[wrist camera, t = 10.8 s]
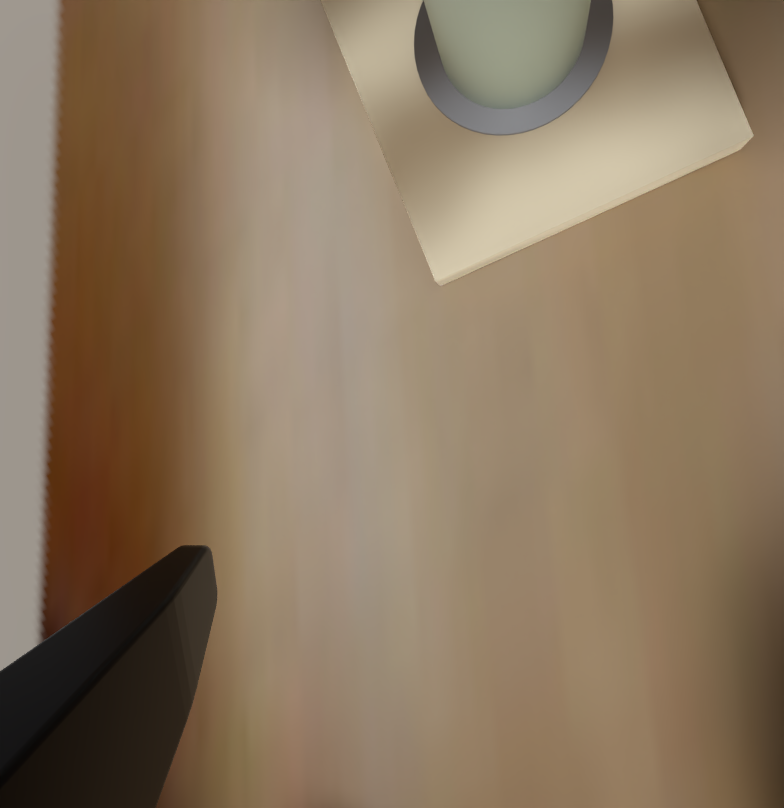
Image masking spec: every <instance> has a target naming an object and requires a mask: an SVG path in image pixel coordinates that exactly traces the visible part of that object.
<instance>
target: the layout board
mask: <svg viewBox="0 0 784 808" xmlns="http://www.w3.org/2000/svg"><path fill="white" fill-rule="evenodd" d="M320 1H321V3H322V6H323V8H324V10H325V13H326V15H327V18H328V20H329V23H330V25H331V28H332V30H333V32H334V35H335V37H336V40H337V42H338V45H339V47H340V50H341V52H342V54H343V57H344V59H345V62H346V64H347V67H348V69H349V72H350V74H351V76H352V79H353V81H354V84H355V86H356V89H357V91H358V94H359V96H360V98H361V101H362V103H363V106H364V108H365V111H366V113H367V116H368V118H369V120H370V123H371V125H372V128H373V130H374V133H375V135H376V138H377V140H378V142H379V145H380V147H381V150H382V152H383V155H384V157H385V160H386V162H387V164H388V167H389V169H390V172H391V174H392V177H393V179H394V181H395V184H396V186H397V189H398V191H399V194H400V196H401V199H402V201H403V203H404V206H405V208H406V211H407V213H408V216H409V218H410V221H411V223H412V225H413V228H414V230H415V233H416V235H417V238H418V240H419V243H420V245H421V247H422V250H423V252H424V255H425V257H426V260H427V262H428V265H429V267H430V269H431V272H432V274H433V277H434V279H435V282H437V283H438V284H439V285H440V286H442V285H444V284H447V283H449V282H451V281H453V280H455V279H458V278H460V277H462V276H464V275H466V274H469V273H471V272H473V271H475V270H477V269H480V268H482V267H484V266H486V265H488V264H491V263H493V262H495V261H497V260H499V259H501V258H504V257H506V256H508V255H510V254H512V253H515V252H517V251H519V250H521V249H523V248H526V247H528V246H530V245H532V244H534V243H537V242H539V241H541V240H543V239H545V238H548V237H550V236H552V235H554V234H556V233H559V232H561V231H563V230H565V229H567V228H570V227H572V226H574V225H576V224H578V223H581V222H583V221H585V220H587V219H589V218H592V217H594V216H596V215H598V214H600V213H603V212H605V211H607V210H609V209H611V208H614V207H616V206H618V205H620V204H622V203H625V202H627V201H629V200H631V199H633V198H636V197H638V196H640V195H642V194H644V193H647V192H649V191H651V190H653V189H655V188H658V187H660V186H662V185H664V184H666V183H669V182H671V181H673V180H675V179H677V178H680V177H682V176H684V175H686V174H688V173H691V172H693V171H695V170H697V169H699V168H702V167H704V166H706V165H708V164H710V163H713V162H715V161H717V160H719V159H721V158H723V157H726V156H728V155H730V154H732V153H734V152H737V151H739V150H740V149H741V148H742V147H743V146H744V145H745V144H746V143H747V142H748V141H749V140H750V139H751V138H752V137H753V136H754V135H753V133H752V131H751V128H750V126H749V123H748V121H747V119H746V116H745V114H744V112H743V109H742V107H741V105H740V102H739V100H738V97H737V95H736V93H735V90H734V88H733V86H732V83H731V81H730V79H729V76H728V74H727V71H726V69H725V67H724V64H723V62H722V60H721V57H720V55H719V53H718V50H717V48H716V45H715V43H714V41H713V38H712V36H711V34H710V31H709V29H708V26H707V24H706V22H705V19H704V17H703V15H702V12H701V10H700V8H699V5H698V3H697V0H591V3H590V9H589V15H588V21H587V27H586V33H585V38H584V43H583V47H582V49H581V52H580V55H579V57H578V59H577V61H576V63H575V65H574V67H573V68H572V70H571V71H570V73H569V74H568V76H567V77H566V78H565V79H564V80H563V82H562V83H561V84H560V85H559V86H558V87H556V88H555V89H554V90H553V91H552V92H550V93H549V94H548V95H546V96H545V97H543V98H541V99H540V100H538V101H536V102H533V103H531V104H529V105H525V106H522V107H518V108H512V109H494V108H488V107H484V106H481V105H479V104H476V103H474V102H472V101H470V100H469V99H467V98H466V97H464V96H463V95H462V94H461V93H459V92H458V90H457V89H456V88H455V87H454V86H453V85H452V83H451V82H450V80H449V79H448V77H447V75H446V73H445V70H444V67H443V64H442V61H441V58H440V54H439V51H438V48H437V44H436V41H435V37H434V34H433V31H432V27H431V24H430V20H429V17H428V14H427V10H426V7H425V3H424V0H320Z"/></svg>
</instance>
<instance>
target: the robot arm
mask: <svg viewBox="0 0 784 808" xmlns="http://www.w3.org/2000/svg"><path fill="white" fill-rule="evenodd" d="M216 604H217V585H216V578H215V571H214V564H213V557H212V552H211V550H210V548H209V547H208V546H205V545H184V546H180V547H178V548H177V549H175V550H174V551H172V552H171V553H170V554H168V555H167V556H165V557H164V558H162V559H161V560H159V561H158V562H157V563H155V564H154V565H152V566H151V567H149V568H148V569H147V570H145V571H144V572H142V573H141V574H139V575H138V576H136V577H135V578H134V579H132V580H131V581H129V582H128V583H126V584H125V585H124V586H122V587H121V588H119V589H118V590H116V591H115V592H113V593H112V594H111V595H109V596H108V597H106V598H105V599H103V600H102V601H101V602H99V603H98V604H96V605H95V606H93V607H92V608H90V609H89V610H88V611H86V612H85V613H83V614H82V615H80V616H79V617H78V618H76V619H75V620H73V621H72V622H70V623H69V624H67V625H66V626H65V627H63V628H62V629H60V630H59V631H57V632H56V633H55V634H53V635H52V636H50V637H49V638H47V639H46V640H44V641H43V642H42V643H40V644H39V645H37V646H36V647H34V648H33V649H32V650H30V651H29V652H27V653H26V654H24V655H23V656H22V657H20V658H19V659H17V660H16V661H14V662H13V663H11V664H10V665H9V666H7V667H6V668H4V669H3V670H1V671H0V808H156V806H157V803H158V800H159V797H160V794H161V792H162V789H163V786H164V783H165V780H166V778H167V775H168V772H169V769H170V767H171V764H172V761H173V758H174V755H175V753H176V750H177V747H178V744H179V742H180V739H181V736H182V733H183V730H184V728H185V725H186V722H187V719H188V716H189V713H190V710H191V707H192V704H193V700H194V696H195V692H196V689H197V684H198V680H199V676H200V672H201V668H202V664H203V659H204V655H205V651H206V647H207V643H208V638H209V634H210V630H211V626H212V622H213V617H214V613H215V609H216Z"/></svg>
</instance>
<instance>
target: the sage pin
mask: <svg viewBox="0 0 784 808" xmlns="http://www.w3.org/2000/svg"><path fill="white" fill-rule="evenodd" d="M424 3H425V7H426V10H427V14H428V17H429V20H430V24H431V27H432V31H433V34H434V37H435V41H436V44H437V48H438V51H439V54H440V58H441V61H442V64H443V67H444V70H445V73H446V75H447V77H448V79H449V80H450V82H451V83H452V85H453V86H454V87H455V88H456V89H457V90H458V92H459V93H461V94H462V95H463V96H464V97H466V98H467V99H469V100H470V101H472V102H474V103H476V104H479V105H481V106H484V107H488V108H494V109H512V108H518V107H522V106H525V105H529V104H531V103H533V102H536V101H538V100H540V99H541V98H543V97H545V96H546V95H548V94H549V93H550V92H552V91H553V90H554V89H555V88H556V87H558V86H559V85H560V84H561V83H562V82H563V80H564V79H565V78H566V77H567V76H568V74H569V73H570V71H571V70H572V68H573V67H574V65H575V63H576V61H577V59H578V57H579V55H580V52H581V49H582V47H583V43H584V38H585V33H586V27H587V21H588V15H589V9H590V3H591V0H424Z"/></svg>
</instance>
